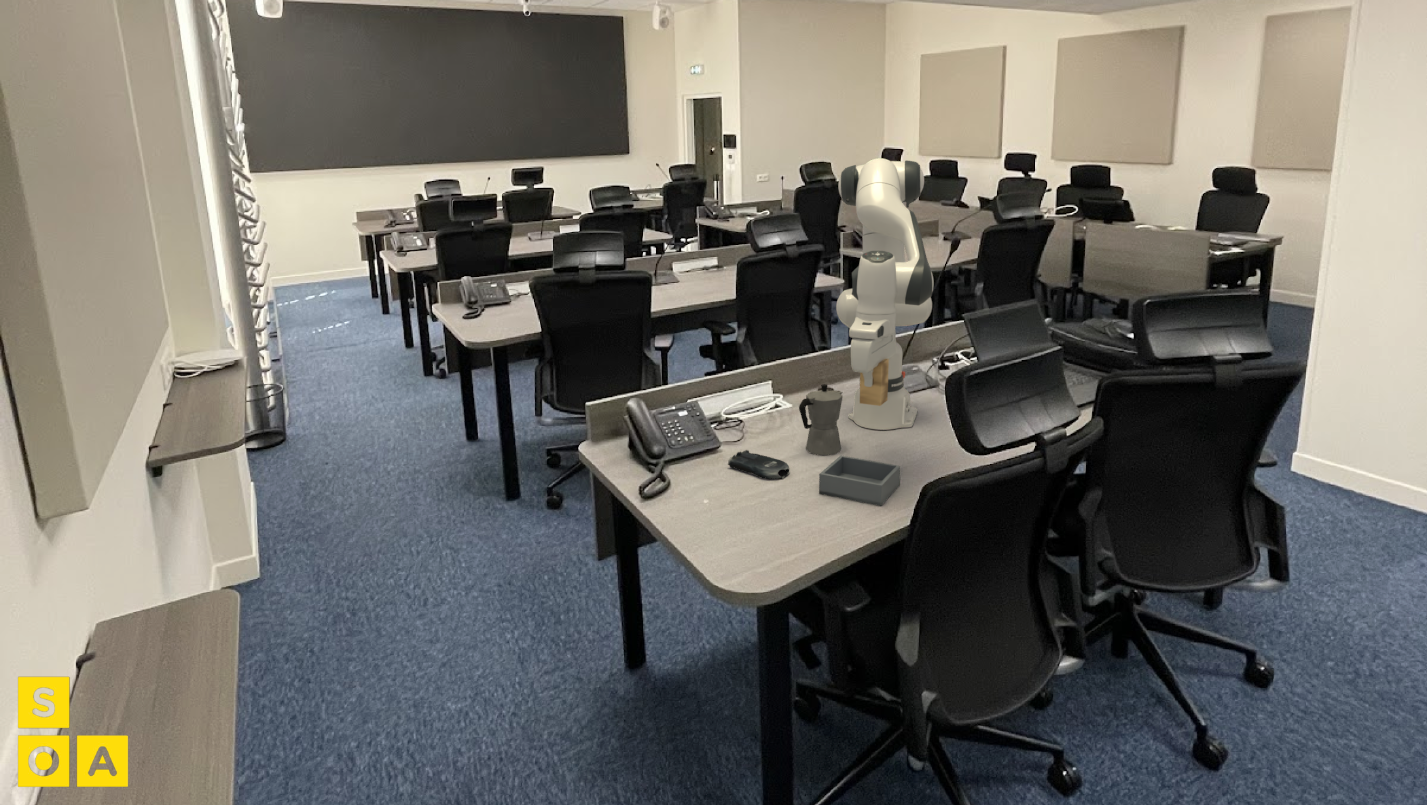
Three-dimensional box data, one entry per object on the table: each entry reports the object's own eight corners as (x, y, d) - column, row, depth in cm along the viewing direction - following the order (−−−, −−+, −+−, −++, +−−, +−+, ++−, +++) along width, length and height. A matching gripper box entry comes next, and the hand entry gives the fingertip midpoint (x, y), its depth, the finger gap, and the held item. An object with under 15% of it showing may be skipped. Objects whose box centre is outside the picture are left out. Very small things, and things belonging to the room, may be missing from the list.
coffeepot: (827, 439, 236) (828, 375, 231) (853, 448, 229) (855, 382, 224) (786, 453, 227) (786, 387, 221) (812, 463, 220) (813, 395, 214)
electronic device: (726, 476, 218) (775, 482, 208) (725, 454, 217) (774, 459, 208) (748, 469, 225) (797, 475, 215) (747, 448, 224) (796, 453, 215)
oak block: (867, 397, 206) (868, 356, 203) (887, 400, 204) (888, 358, 201) (859, 403, 202) (860, 361, 199) (880, 405, 200) (881, 363, 197)
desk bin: (840, 474, 213) (840, 455, 211) (899, 485, 205) (900, 465, 204) (819, 493, 202) (819, 473, 200) (880, 506, 195) (881, 485, 193)
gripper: (877, 315, 208) (876, 371, 212) (846, 331, 191) (844, 391, 195) (903, 317, 205) (901, 373, 209) (873, 333, 188) (871, 395, 192)
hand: (873, 382), depth 202 cm, fingers closed on oak block, 5 cm apart
